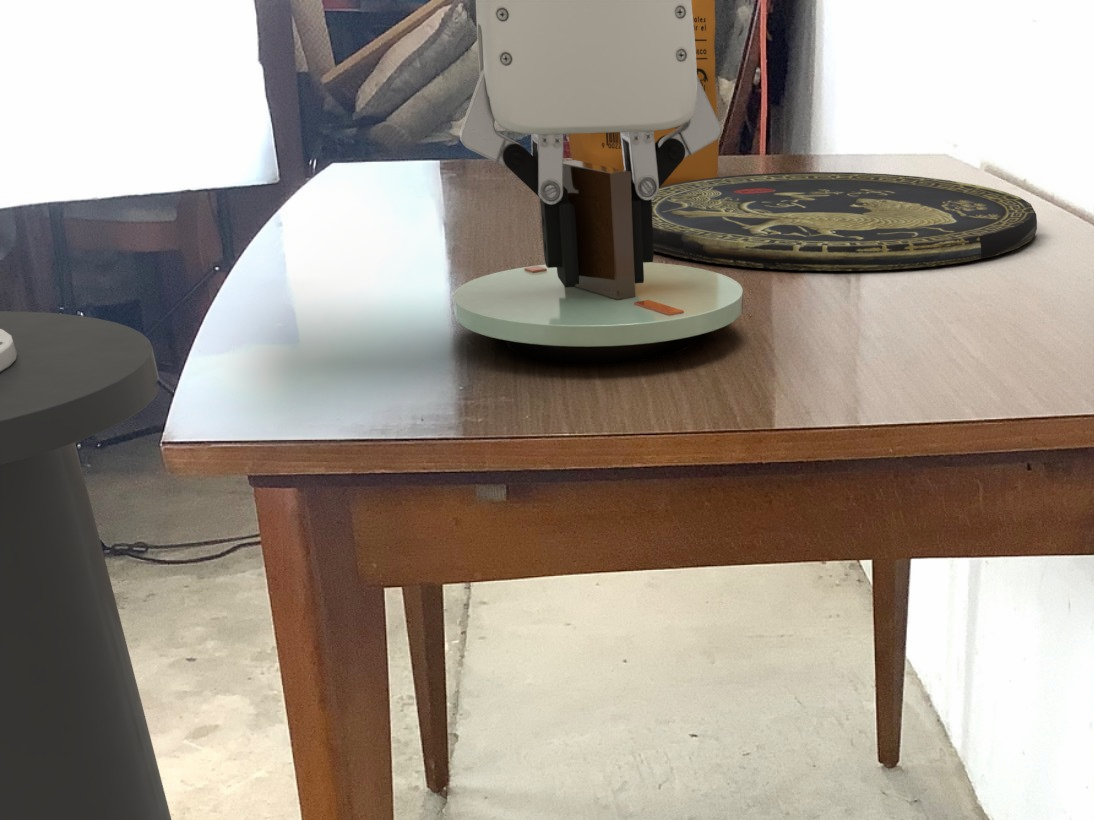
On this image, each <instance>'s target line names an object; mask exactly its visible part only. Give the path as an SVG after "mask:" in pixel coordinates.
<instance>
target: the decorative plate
mask: <svg viewBox="0 0 1094 820" xmlns="http://www.w3.org/2000/svg"><path fill="white" fill-rule="evenodd" d="M652 225H653V252H658V253H661V254H664V255H665V254H666V255H669V256H673V257H676V258H680V259H681V258H682V259H687V260H693V261H699V262H705V263H710V264H719V265H729V266H737V267H746V268H756V269H769V270H770V269H772V270H787V271H789V270H790V271H811V272H813V271H814V272H815V271H816V272H818V271H819V272H822V271H824V272H860V271H861V272H862V271H891V270H892V271H893V270H905V269H917V268H919V269H920V268H930V267H938V266H946V265H954V264H960V263H967V262H971V261H976V260H981V259H986V258H991V257H995V256H999V255H1002V254H1005V253H1009V252H1011V251H1014V250H1016V249H1019V248H1021V247H1022V246H1024V245H1026V244H1028V243H1029V242H1031V241H1032V240H1033V238H1034V236H1035V234H1036V233H1037V230H1038V218H1037V212H1036V211H1035V209H1034V207H1033V206H1032V204H1031V203H1030V202H1028V201H1027V200H1025V199H1024V198H1022V197H1020V196H1017V195H1015V194H1013V193H1009V192H1006V191H1003V190H999V189H995V188H992V187H986V186H983V185H979V184H974V183H967V182H962V181H956V180H949V179H942V178H934V177H926V176H925V177H924V176H914V175H905V174H904V175H901V174H890V173H872V172H871V173H869V172H848V171H847V172H845V171H844V172H843V171H841V172H840V171H839V172H838V171H805V172H804V171H801V172H771V173H770V172H769V173H751V174H750V173H749V174H738V175H737V174H736V175H726V176H725V175H724V176H718V177H714V178H707V179H699V180H692V181H685V182H680V183H675V184H670V185H665V186H661V187H660V188H659V191H658V194H657V195H656V196H655V197H654V198H653V199H652Z"/></svg>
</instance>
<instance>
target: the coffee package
mask: <svg viewBox="0 0 1094 820" xmlns="http://www.w3.org/2000/svg"><path fill="white" fill-rule="evenodd" d="M715 3H716V1H715V0H691V4H692V14H693V25H694V36H695V49H696V67H697V76H698V78H699V81H700V83H701V85H702V87H703V89H704V91H705V93H706V96H707V98H708V100H709V102H710V104H711V106H712V109H713V111H714V113H715V115H716V117H717V119H718V118H719V117H718V114H719V113H718V97H717V87H716V86H717V84H716V51H715V40H716V39H715V37H716V4H715ZM718 120H719V119H718ZM680 126H681V125H680ZM680 126H678V127H680ZM678 127H674V128H671V129H666V130H656V131H654V141H655V143H656V142H657V140H658V139H659V138H660V137H662V136H664V135H668V134H670V133H671V132H673V131H675V129H677V128H678ZM567 136H568V146H569V153H570V156H571V161H572V160H577V161H581V162H586V163H591V164H596V165H601V166H606V167H611V168H616V169H621V170H624V163H623V154H622V145H621V136H620V132H608V133H579V134H567ZM719 142H720V137H719V138H718V139H717V140H716V141H714V142H712V143H711V144H709V145H707V146H706V147H704V148H702V149H701V150H699V151H697V152H696V153H694V154H692V155H690V156H688V157H686V158H685V159H683V161H682V162H681V163H680V164H679V165H678V167H677V168H676V169H675V170H674V171H673V172H672V174H671V175H670V176H669V177H668V178H667V179H666V181H665V182H664V183H663V184H662V185H661V186H665V185H670V184H675V183H680V182H685V181H692V180H699V179H707V178H714V177H719V151H720V149H719V148H720V147H719V146H720V145H719V144H720V143H719Z"/></svg>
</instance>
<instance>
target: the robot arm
mask: <svg viewBox="0 0 1094 820" xmlns="http://www.w3.org/2000/svg"><path fill="white" fill-rule="evenodd" d="M475 17H476V18H475V19H476V40H477V54H478V55H477V56H478V71H479V76H478V79H477V83H476V85H475V88H474V90H473V94H472V97H471V99H470V102H469V105H468V107H467V110H466V113H465V116H464V119H463V121H462V123H461V127H460V130H459V135H458V136H459V141H460V142H461V143H462V145H463V147H464V148H465V149H467V150H468V151H471V152H473V153H476V154H477V155H480V156H482V157H484V158H486V159H488V160H490V161H493V162H495V163H497V164H499V165H501V166H503V167H505V168H508V169H509V170H510V171H511V172H512V173H513V174H514V175H515V176H516V177H517V178H518V179H519V180H520V181H521V182H523V183H524V185H526V187H528V188H529V190H531V191H532V192H533V193H534V194H535V195H536V196H538V197H539V203H540V217H541V231H542V242H543V243H542V244H543V255H544V256H543V257H544V261H545V262H544V264H545V265H546V266H547V268H555V267H557V274H558V278H559V279H560V281H561V282H562V284H563V285H564V286H565V287H575V286H576V284H579V269H578V253H577V237H576V221H575V208H574V205H573V204H572V203H571V202H570V201H569V200H568V190H567V189H566V188H565V187H564V186H563V161H564V135H568V134H579V133H608V132H620V136H621V145H622V154H623V163H624V170H626V171H630V173H631V196H632V221H633V246H634V271H635V283H643V282H644V267H643V263H647V262H651V263H654V256H655V255H654V251H653V225H652V199H653V198H654V197H655V196H656V195H657V194H658V191H659V188H660V187H661V185H662V184H663V183H664V182H665V181H666V179H667V178H668V177H669V176H670V175H671V174H672V172H673V171H674V170H675V169H676V168H677V167H678V165H679V164H680V163H681V162H682V161H683V159H685V158H686V157H688V156H690V155H692V154H694V153H696V152H697V151H699V150H701V149H702V148H704V147H706V146H707V145H709V144H711V143H712V142H714V141H716V140H717V139H718V138H719V139H720V137H721V135H722V126H721V124H720V121H719V119H717V117H716V115H715V113H714V111H713V109H712V106H711V104H710V102H709V100H708V98H707V96H706V93H705V91H704V89H703V87H702V85H701V83H700V81H699V78H698V76H697V67H696V49H695V36H694V25H693V14H692V4H691V0H475ZM495 123H497V124H498V125H499V126H500V127H501V128H504V129H505V130H507V131H510V132H513V133H516V134H520V135H521V134H522V135H530V140H531V141H530V144H531V147H530V148H531V151H530V152H529V151H528V150H527V149H526V148H525V147H524V146H523V145H522V144H521V143H520V142H518V141H516V140H514V139H512V138H509V137H508V136H505V135H503V134H502V133H500V132H498V131H497V130H496V127H495ZM680 125H681V126H680ZM678 126H680V127H678ZM674 127H678V128H677V129H675V131H673V132H671V133H670V134H668V135H664V136H662V137H660V138H659V139H658V140H657V142H656V143H655V141H654V131H656V130H666V129H671V128H674ZM16 356H17V353H16V349H15V346H14V343H13V340H12V336H11V335H10V334H8V333H7V332H5V331H4V330H2V329H0V372H2V371H4V370H5V369H7V368H9V367H10V366H11V364H12V363H13V362H14V361H15V360H16Z"/></svg>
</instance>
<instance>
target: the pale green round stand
mask: <svg viewBox="0 0 1094 820" xmlns="http://www.w3.org/2000/svg"><path fill="white" fill-rule="evenodd" d="M563 186H564V187H565V188H566V189H567V190H568V200H569V201H570V202H571V203H572V204H573V205H574V208H575V221H576V237H577V253H578V269H579V284H576V286H575V287H565V286H564V285H563V284H562V282H561V281H560V279H559V278H558V274H557V267H555V268H547V266H546V264H538V265H531V266H523V267H517V268H512V269H507V270H502V271H497V272H493V273H490V274H486V275H483V276H480V277H476V278H474V279H471V280H469V281H467V282H465V283H464V284H462V285H460V286H458V288H457V289H456V290H455V291H454V292H453V295H452V300H453V311H454V318H455V320H456V322H458V324H459V325H461V326H462V327H463V328H465V329H466V330H469V331H471V332H473V333H476V334H479V335H482V336H485V337H489V338H492V339H493V338H494V339H497V340H503V341H506V340H507V341H513V342H520V343H528V344H538V345H550V346H579V347H595V346H622V345H636V344H647V343H656V342H663V341H670V340H676V339H682V338H687V337H692V336H696V337H697V336H701V335H703V334H707V333H710V332H714V331H717V330H719V329H722V328H725V327H726V326H729V325H731V324H732V323H734V322H735V321H737V320H738V319H739V318H740V317H741V315H742V314H743V310H744V289H743V287H742V285H741V284H740V283H739V282H738V281H737V280H735V279H733V278H731V277H730V276H727V275H725V274H722V273H719V272H716V271H712V270H707V269H704V268H697V267H692V266H688V265H682V264H681V265H680V264H672V263H661V262H647V263H643V267H644V282H643V283H635V271H634V246H633V221H632V196H631V173H630V171H626V170H621V169H616V168H611V167H606V166H601V165H596V164H591V163H586V162H581V161H577V160H572V159H571V160H563ZM507 341H506V342H507Z"/></svg>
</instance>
